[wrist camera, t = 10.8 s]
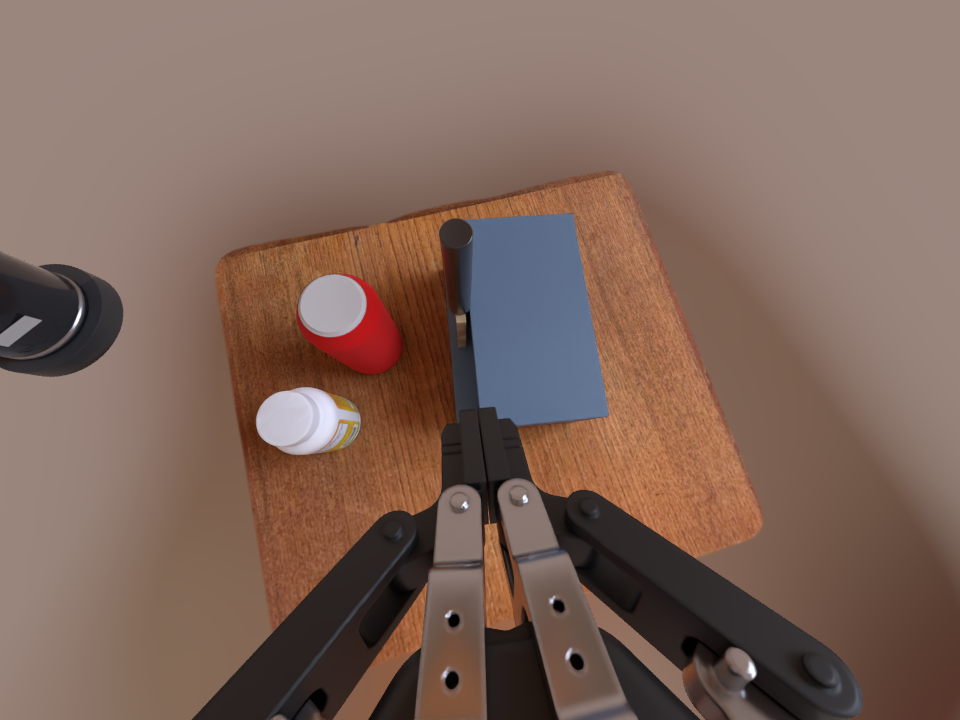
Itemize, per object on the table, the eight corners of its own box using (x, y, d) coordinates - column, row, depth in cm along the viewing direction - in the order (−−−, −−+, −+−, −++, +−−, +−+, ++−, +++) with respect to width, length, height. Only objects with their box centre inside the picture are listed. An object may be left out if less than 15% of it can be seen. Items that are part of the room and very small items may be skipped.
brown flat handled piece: (453, 348, 35) (441, 259, 18) (446, 272, 37) (430, 125, 19) (470, 346, 35) (476, 257, 18) (463, 271, 37) (461, 124, 20)
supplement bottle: (304, 402, 34) (242, 388, 25) (358, 391, 35) (318, 374, 25) (309, 457, 33) (246, 464, 24) (365, 445, 34) (325, 448, 24)
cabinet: (457, 433, 34) (455, 431, 26) (443, 269, 38) (438, 221, 30) (575, 421, 35) (609, 416, 27) (549, 261, 39) (572, 212, 31)
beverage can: (364, 310, 37) (316, 250, 25) (415, 335, 36) (391, 286, 25) (333, 360, 35) (268, 321, 24) (386, 386, 35) (346, 361, 23)
